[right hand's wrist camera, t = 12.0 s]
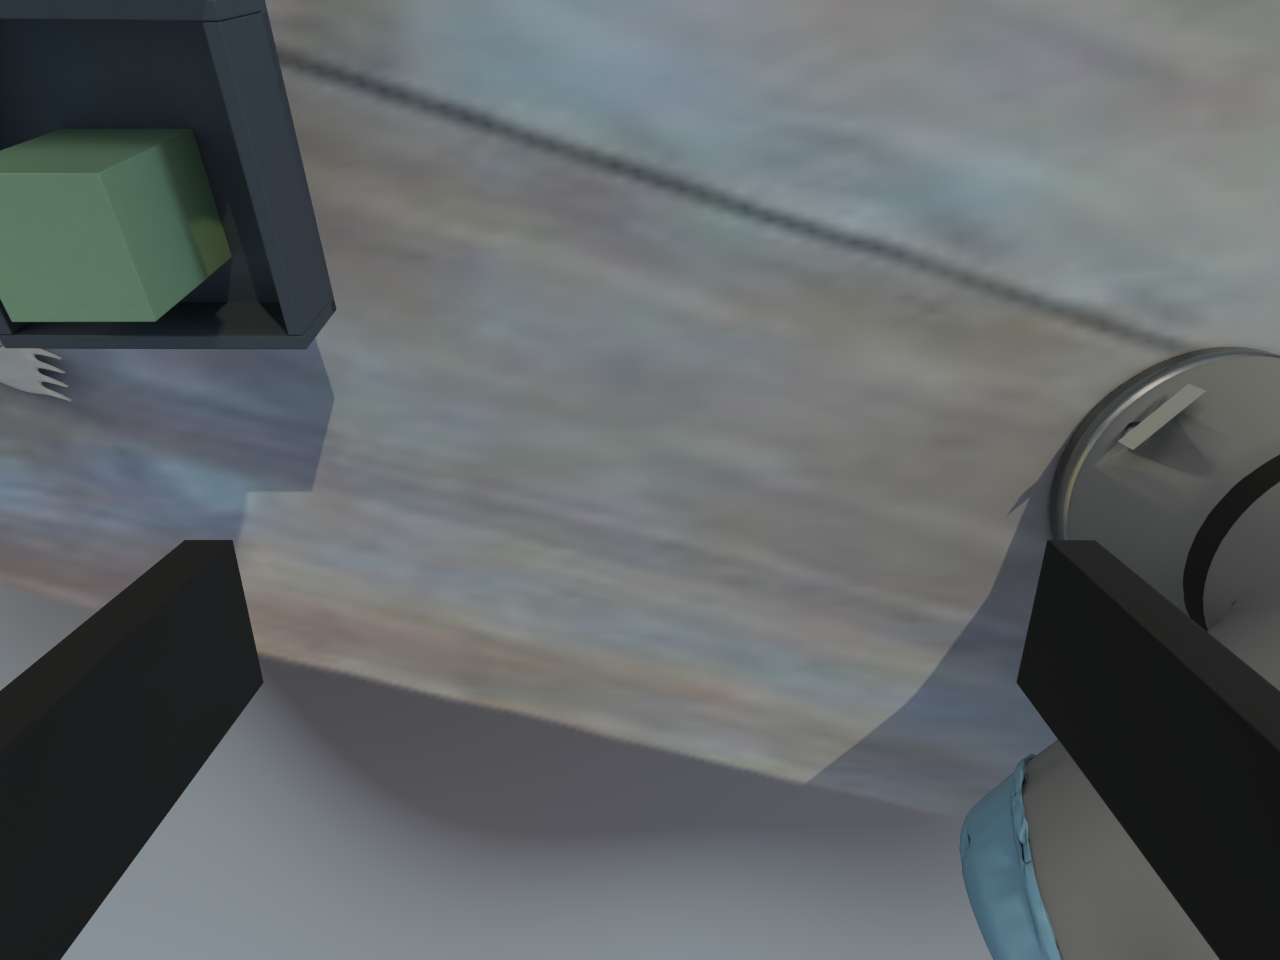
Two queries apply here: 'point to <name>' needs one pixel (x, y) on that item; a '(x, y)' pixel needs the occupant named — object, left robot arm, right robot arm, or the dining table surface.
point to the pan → (226, 137)
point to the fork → (28, 371)
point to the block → (105, 225)
